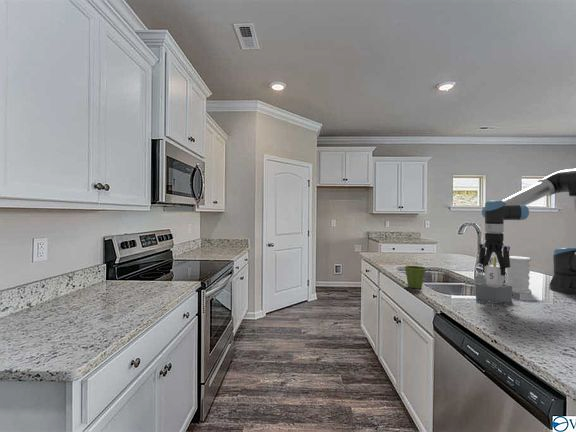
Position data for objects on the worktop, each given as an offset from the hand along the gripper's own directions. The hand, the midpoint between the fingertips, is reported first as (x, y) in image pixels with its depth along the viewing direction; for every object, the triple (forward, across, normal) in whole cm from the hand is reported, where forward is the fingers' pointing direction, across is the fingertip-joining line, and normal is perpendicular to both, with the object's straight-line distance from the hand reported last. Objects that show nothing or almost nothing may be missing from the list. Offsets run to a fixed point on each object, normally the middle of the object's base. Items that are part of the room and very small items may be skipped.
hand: (493, 280), depth 154 cm
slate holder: (+9, 0, 0) cm, 9 cm away
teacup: (+10, -13, +15) cm, 22 cm away
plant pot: (+10, -35, -15) cm, 39 cm away
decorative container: (+10, -7, +29) cm, 31 cm away
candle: (+4, 0, 0) cm, 4 cm away
